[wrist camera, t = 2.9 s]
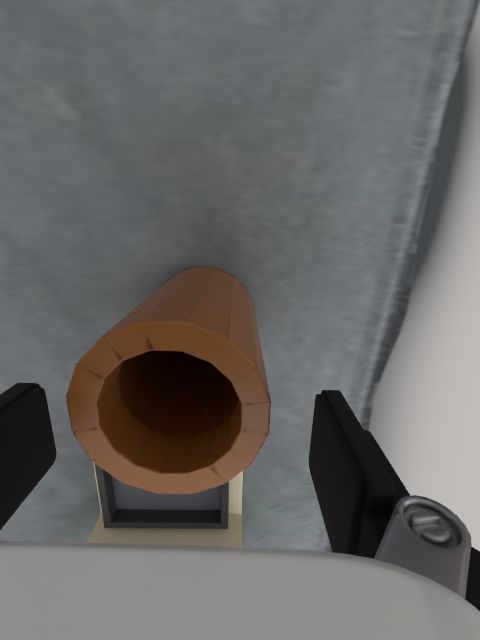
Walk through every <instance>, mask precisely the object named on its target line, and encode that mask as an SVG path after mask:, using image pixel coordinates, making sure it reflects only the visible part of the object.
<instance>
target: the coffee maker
mask: <svg viewBox="0 0 480 640" xmlns="http://www.w3.org/2000/svg"><path fill="white" fill-rule="evenodd" d="M93 465H94V471H95V478H96V484H97V490H98V497H99V503H100V510H101V514H100V516H99V519H98V521H97V523H96V525H95V527H94V529H93V531H92V533H91V536H90V538H89V540H88V542H87V543H107V544H147V545H180V546H213V547H242V516H241V515H242V484H243V471H242V472H240V473H239V474H238V475H236V476H235V477H234V478H233V479H231V480H230V481H229V482H227V483H225V484H223V485H220V486H217V487H214V488H211V489H207V490H204V491H201V492H198V493H195V494H193V493H192V494H157V493H153V492H150V491H146V490H143V489H140V488H137V487H134V486H131V485H128V484H125V483H123V482H122V481H119V480H117V479H116V478H115V477H113V476H112V475H111V474H109V473H108V472H106V471H105V470H104V469H102V468H101V467H99V466H98V465H97V464H95V463H94V462H93Z"/></svg>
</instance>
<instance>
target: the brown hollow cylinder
mask: <svg viewBox="0 0 480 640" xmlns="http://www.w3.org/2000/svg"><path fill="white" fill-rule="evenodd" d="M66 397H67V405H68V410H69V416H70V422H71V428H72V431H73V434H74V435H75V437H76V438H77V440H78V441H79V443H80V444H81V446H82V447H83V449H84V450H85V451H86V453H87V454H88V456H89V457H90V459H91V460H93V462H94V463H95V464H97V465H98V466H99V467H101V468H102V469H104V470H105V471H106V472H108V473H109V474H111V475H112V476H113V477H115V478H116V479H117V480H119V481H122V482H123V483H125V484H128V485H131V486H134V487H137V488H140V489H143V490H146V491H150V492H153V493H157V494H192V493H193V494H195V493H198V492H201V491H204V490H207V489H211V488H214V487H217V486H220V485H223V484H225V483H227V482H229V481H230V480H231V479H233V478H234V477H235V476H236V475H238V474H239V473H240V472H242V471H243V470H244V469H246V468H247V467H248V466H249V465H251V464H252V462H253V461H254V459H255V457H256V455H257V454H258V452H259V450H260V448H261V447H262V445H263V443H264V441H265V439H266V438H267V436H268V433H269V424H270V408H271V400H270V394H269V389H268V384H267V378H266V372H265V367H264V361H263V356H262V351H261V346H260V340H259V335H258V330H257V325H256V319H255V314H254V309H253V306H252V303H251V300H250V297H249V295H248V293H247V291H246V290H245V288H244V287H243V285H242V284H241V283H240V282H239V281H238V280H237V279H236V278H235V277H233V276H232V275H230V274H229V273H227V272H225V271H222V270H220V269H216V268H212V267H196V268H191V269H188V270H185V271H183V272H181V273H179V274H177V275H175V276H173V277H172V278H171V279H170V280H169V281H167V282H166V283H165V284H164V285H163V286H162V287H160V288H159V289H158V290H157V291H156V292H154V293H153V294H152V295H151V296H150V297H148V298H147V299H146V300H145V301H144V302H143V303H141V304H140V305H139V306H138V307H137V308H135V309H134V310H133V311H132V312H131V313H129V314H128V315H127V316H126V317H125V318H124V319H122V320H121V321H120V322H119V323H118V324H117V325H115V326H114V327H113V328H112V329H111V330H109V331H108V332H107V333H106V334H105V335H103V336H102V337H101V338H100V339H99V340H98V341H97V342H96V343H95V344H94V345H93V346H92V348H91V349H90V350H89V351H88V352H87V353H86V354H85V355H84V356H83V357H82V358H81V359H80V360H79V361H78V363H77V364H76V366H75V369H74V372H73V376H72V379H71V382H70V386H69V389H68V392H67V395H66Z"/></svg>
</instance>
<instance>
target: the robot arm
mask: <svg viewBox="0 0 480 640" xmlns="http://www.w3.org/2000/svg"><path fill="white" fill-rule="evenodd" d="M55 459H56V447H55V442H54V437H53V431H52V426H51V421H50V416H49V410H48V405H47V400H46V394H45V390H44V389H43V388H41V387H40V385H39V384H37V383H17V384H15V385H14V386H12V387H11V388H9V389H8V390H6V391H5V392H4V393H2V394H1V395H0V530H1V529H2V527H3V526H4V525H5V524H6V522H7V521H8V520H9V519H10V517H11V516H12V515H13V514H14V512H15V511H16V510H17V509H18V507H19V506H20V505H21V504H22V502H23V501H24V500H25V499H26V497H27V496H28V495H29V494H30V492H31V491H32V490H33V489H34V487H35V486H36V485H37V484H38V482H39V481H40V480H41V479H42V477H43V476H44V475H45V474H46V472H47V471H48V470H49V469H50V467H51V466H52V465H53V463H54V461H55ZM309 468H310V473H311V476H312V480H313V483H314V487H315V491H316V494H317V498H318V501H319V505H320V509H321V512H322V516H323V519H324V523H325V527H326V530H327V534H328V537H329V541H330V545H331V548H332V552H333V553H331V552H320V551H308V550H288V549H267V548H245V547H213V546H180V545H147V544H107V543H65V542H19V541H0V640H480V551H478V550H476V549H474V548H473V547H471V536H470V534H469V532H468V530H467V528H466V526H465V525H464V523H463V522H462V521H461V520H460V519H459V517H458V516H457V515H455V514H454V513H453V512H452V511H450V510H449V509H448V508H447V507H445V506H443V505H442V504H440V503H438V502H436V501H434V500H431V499H428V498H426V497H421V496H410V494H409V493H408V491H407V490H406V488H405V486H404V485H403V483H402V482H401V480H400V478H399V477H398V475H397V474H396V472H395V470H394V469H393V467H392V466H391V464H390V463H389V461H388V459H387V458H386V456H385V455H384V453H383V451H382V450H381V448H380V447H379V445H378V443H377V442H376V440H375V439H374V437H373V436H372V435H371V433H370V432H369V431H367V430H363V428H362V427H361V425H360V423H359V422H358V420H357V418H356V417H355V415H354V413H353V412H352V410H351V408H350V407H349V405H348V403H347V402H346V400H345V398H344V397H343V395H342V393H341V392H340V391H338V390H323V391H322V392H321V394H317V395H316V398H315V407H314V416H313V425H312V435H311V444H310V453H309Z"/></svg>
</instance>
